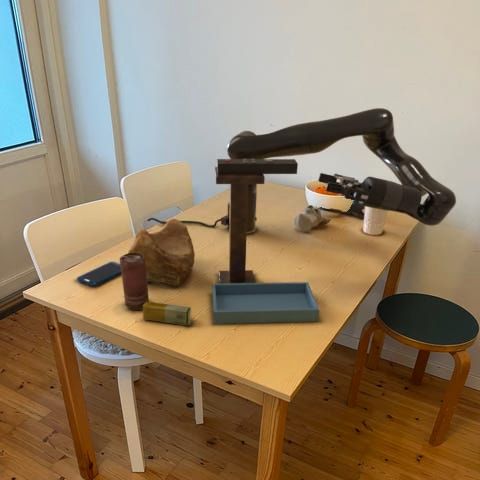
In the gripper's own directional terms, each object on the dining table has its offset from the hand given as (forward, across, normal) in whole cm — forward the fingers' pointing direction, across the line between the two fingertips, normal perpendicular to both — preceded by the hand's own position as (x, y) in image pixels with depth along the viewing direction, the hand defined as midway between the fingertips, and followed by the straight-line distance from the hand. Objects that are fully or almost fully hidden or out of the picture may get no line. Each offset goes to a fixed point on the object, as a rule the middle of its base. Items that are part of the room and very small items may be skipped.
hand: (322, 181), depth 123 cm
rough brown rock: (+34, -7, +38) cm, 51 cm away
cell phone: (+53, -9, +42) cm, 68 cm away
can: (+42, +8, +40) cm, 58 cm away
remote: (+17, -2, +2) cm, 17 cm away
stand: (+15, -3, +34) cm, 37 cm away
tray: (+9, +11, +33) cm, 36 cm away
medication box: (+33, +16, +38) cm, 53 cm away
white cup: (-36, -40, +22) cm, 58 cm away
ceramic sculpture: (-14, -44, +27) cm, 53 cm away
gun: (-29, -59, +23) cm, 70 cm away
